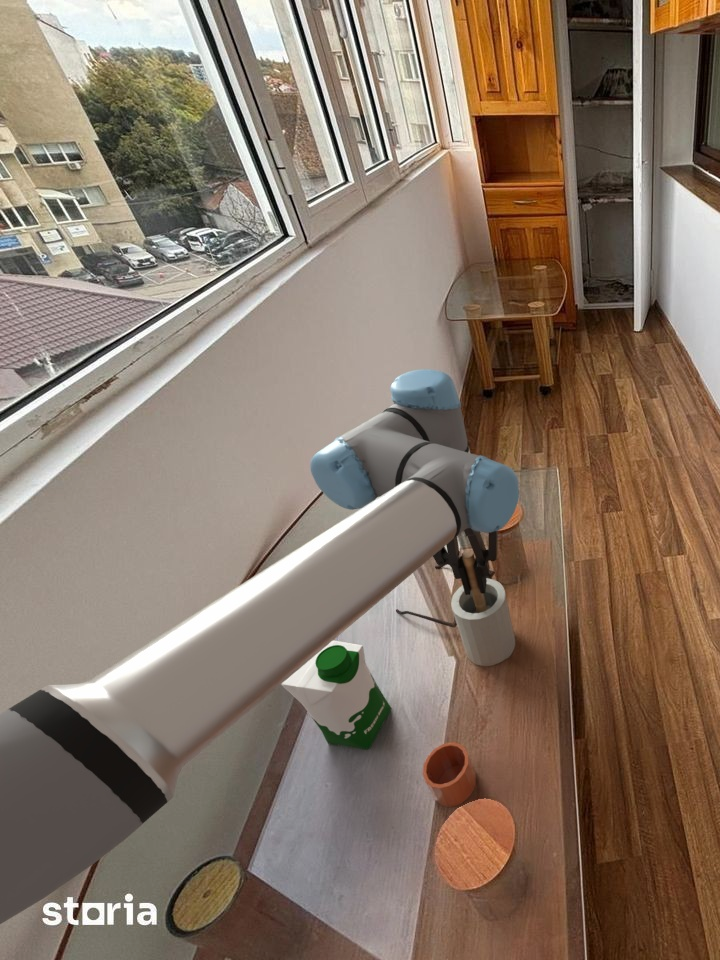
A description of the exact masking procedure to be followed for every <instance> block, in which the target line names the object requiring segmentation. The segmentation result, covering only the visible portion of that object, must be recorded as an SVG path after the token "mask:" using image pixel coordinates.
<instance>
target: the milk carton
mask: <svg viewBox="0 0 720 960" xmlns="http://www.w3.org/2000/svg"><path fill="white" fill-rule="evenodd" d="M280 686H281V687H283V688H284V689H285V690H286V691H287V692H288V693H289V694H290V695H291V696H293V697H294V699H296V700H297V701H298V702H299V703H300V704H301V705H302V707H303V708H304V709H305V711H306V712H307V713H308V714H309V716H310V718H311V719H312V720H313V721H314V723H315V724H316V725H317V727H318V728H319V730H320V731H321V733H322V735H323V737H324V739H325V741H326V743H327V744H328V745H333V746H341V747H347V748H354V749H359V750H367V751H368V750H370V749H371V747H372V746H373V744H374V742H375V740H376V738H377V736H378V734H379V732H380V730H381V729H382V727H383V725H384V723H385V721H386V720H387V718H388V716H389V715H390V713H391V710H392V707H391V705H390V703H389V702H388V701H387V698H386V697H385V695H384V694H383V692H382V690H381V689H380V688H379V686H378V684H377V681H376V680H375V678H374V676H373V674H372V672H371V669H370V668H369V666H368V664H367V663H366V658H365V649H364V645H363V644H358V643H352V642H345V641H338V640H335V639H334V640H333V641H332V642H330V643H329V644H328V645H327V646H326V647H324V648H323V649H322V650H321V651H320V652H319V653H317V654H316V655H315V656H314V657H313V658H311V659H310V660H309V661H308V662H307V663H306V664H304V665H303V666H302V667H301V668H300V669H298V670H297V671H296V672H295V673H294V674H292V675H291V676H290V677H289V678H288V679H287V680H285V681H284V682H283V683H282V684H281V685H280Z"/></svg>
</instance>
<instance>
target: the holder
mask: <svg viewBox="0 0 720 960" xmlns="http://www.w3.org/2000/svg"><path fill="white" fill-rule="evenodd" d="M422 767H423V768H422V776H423V779H424V782H425V784H426V786H427V787H428V789H429V792H430V793H431V795H432V797H433V799H434V801H435V802H436V803H438V804H439V805H440V806H441V807H445V808H451V807H456V806H459V805H461V804H462V803H464V802H465V801H466V800H467V799H469V798H470V796H471V795H472V794H473V792H474V790H475V787H476V784H477V773H476V771H475V768H474V765H473V763H472V760H471V758H470V756H469V753H468V751H467V749H466V747H465V746H463V745H462V744H461V743H458V742H454V741H450V742H444V743H441V744H440V745H438V746H436V747H435V748H434V749H433V750H432V751H431V752H430V753H429V754H428V755H427V757H426V758H425V761H424V764H423V766H422Z"/></svg>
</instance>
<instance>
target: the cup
mask: <svg viewBox="0 0 720 960" xmlns="http://www.w3.org/2000/svg"><path fill="white" fill-rule="evenodd" d="M486 580H487V583H486V591H485V593H484V597H485V601H486V603H487V604H489V605H490V607H491V608H490V609H488V610H486V611H484V612H481V613H473V610H474V608H475V607H476V606H475V603H474V599H473V595H472V592H470V595H465V591H464V588H463V584H462V585H460V586H459V588H457V590H456V591H455V592H454V594H452V597H451V600H450V605H451V611H452V614H453V618H454V617H455V620H456V623H457V626H456V627H457V629H458V633H459V636H460V639H461V642H462V645H463V649H464V652H465V655H466V657H467V658H468V660H469V661H470V662H471V663H472V664H474V665H477V666H480V667H490V666H495V665H498V664H500V663H502V662H503V661H505V660H506V659H509V658H510V656H511V655H512V654H513V653H514V651H515V647H516V637H515V633H514V627H513V623H512V618H511V613H510V608H509V604H508V598H507V595H506V591H505V590H506V589H505V587H504V586H503V585H502V583H500V582H499V581H497V580H496V579H493V578H492V579H488V578H486Z"/></svg>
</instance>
